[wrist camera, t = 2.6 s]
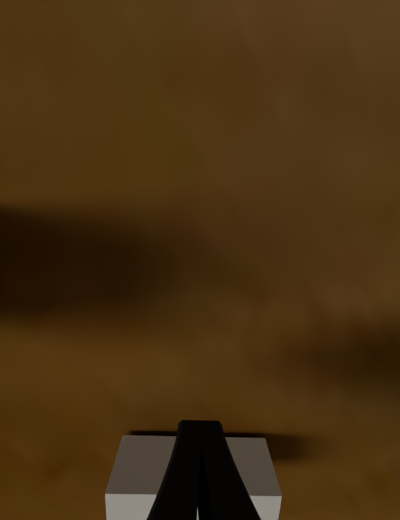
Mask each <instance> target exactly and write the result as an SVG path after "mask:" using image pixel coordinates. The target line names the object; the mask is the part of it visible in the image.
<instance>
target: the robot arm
mask: <svg viewBox="0 0 400 520" xmlns="http://www.w3.org/2000/svg"><path fill="white" fill-rule="evenodd" d="M197 509H198V518H199V520H261V518H260V516H259V514H258V512H257V510H256V508H255V506H254V504H253V502H252V500H251V498H250V496H249V494H248V491H247V489H246V487H245V485H244V483H243V480H242V478H241V476H240V474H239V472H238V469H237V467H236V464H235V462H234V460H233V457H232V454H231V452H230V449H229V447H228V444H227V441H226V438H225V435H224V432H223V428H222V425H221V423H220V422H219V421H203V420H182V421H180V422H179V424H178V431H177V436H176V440H175V444H174V448H173V451H172V454H171V457H170V461H169V464H168V466H167V469H166V472H165V475H164V477H163V480H162V483H161V486H160V488H159V491H158V493H157V496H156V498H155V501H154V503H153V505H152V508H151V510H150V513H149V515H148V517H147V520H197Z"/></svg>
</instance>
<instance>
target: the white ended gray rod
mask: <svg viewBox="0 0 400 520" xmlns="http://www.w3.org/2000/svg"><path fill="white" fill-rule="evenodd" d="M225 438H226V441H227V444H228V447H229V449H230V452H231V454H232V457H233V460H234V462H235V464H236V467H237V469H238V472H239V474H240V476H241V478H242V480H243V483H244V485H245V487H246V489H247V491H248V494H249V496H250V498H251V500H252V502H253V504H254V506H255V508H256V510H257V512H258V514H259V516H260V518H261V520H278V517H279V511H280V504H281V498H282V495H281V492H280V488H279V485H278V481H277V478H276V474H275V471H274V467H273V464H272V460H271V457H270V453H269V450H268V446H267V443H266V439H265V438H236V437H225ZM175 440H176V436H136V435H123V436H122V439H121V442H120V446H119V449H118V452H117V456H116V459H115V463H114V466H113V469H112V473H111V476H110V479H109V483H108V486H107V489H106V493H105V500H106V518H107V520H147V517H148V515H149V513H150V510H151V508H152V505H153V503H154V501H155V498H156V496H157V493H158V491H159V488H160V486H161V483H162V480H163V477H164V475H165V472H166V469H167V466H168V464H169V461H170V457H171V454H172V451H173V448H174V444H175ZM197 520H199V518H198V509H197Z"/></svg>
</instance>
